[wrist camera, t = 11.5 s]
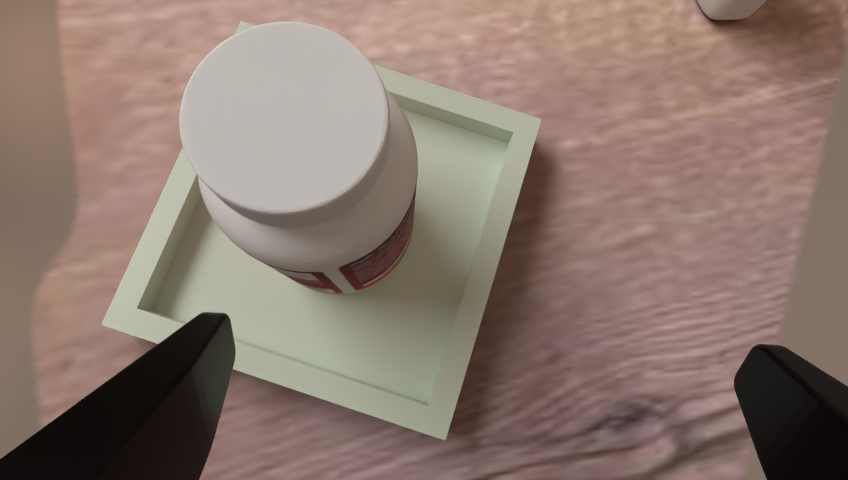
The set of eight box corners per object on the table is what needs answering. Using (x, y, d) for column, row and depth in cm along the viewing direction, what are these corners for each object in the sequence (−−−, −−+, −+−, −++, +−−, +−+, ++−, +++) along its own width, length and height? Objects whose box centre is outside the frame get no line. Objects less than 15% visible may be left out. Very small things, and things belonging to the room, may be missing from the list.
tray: (441, 431, 21) (445, 440, 19) (128, 326, 21) (101, 324, 19) (529, 137, 24) (541, 119, 22) (253, 46, 24) (240, 20, 22)
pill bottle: (395, 145, 23) (394, -31, 12) (427, 277, 22) (458, 214, 11) (257, 173, 22) (126, 14, 11) (283, 311, 21) (164, 279, 10)
